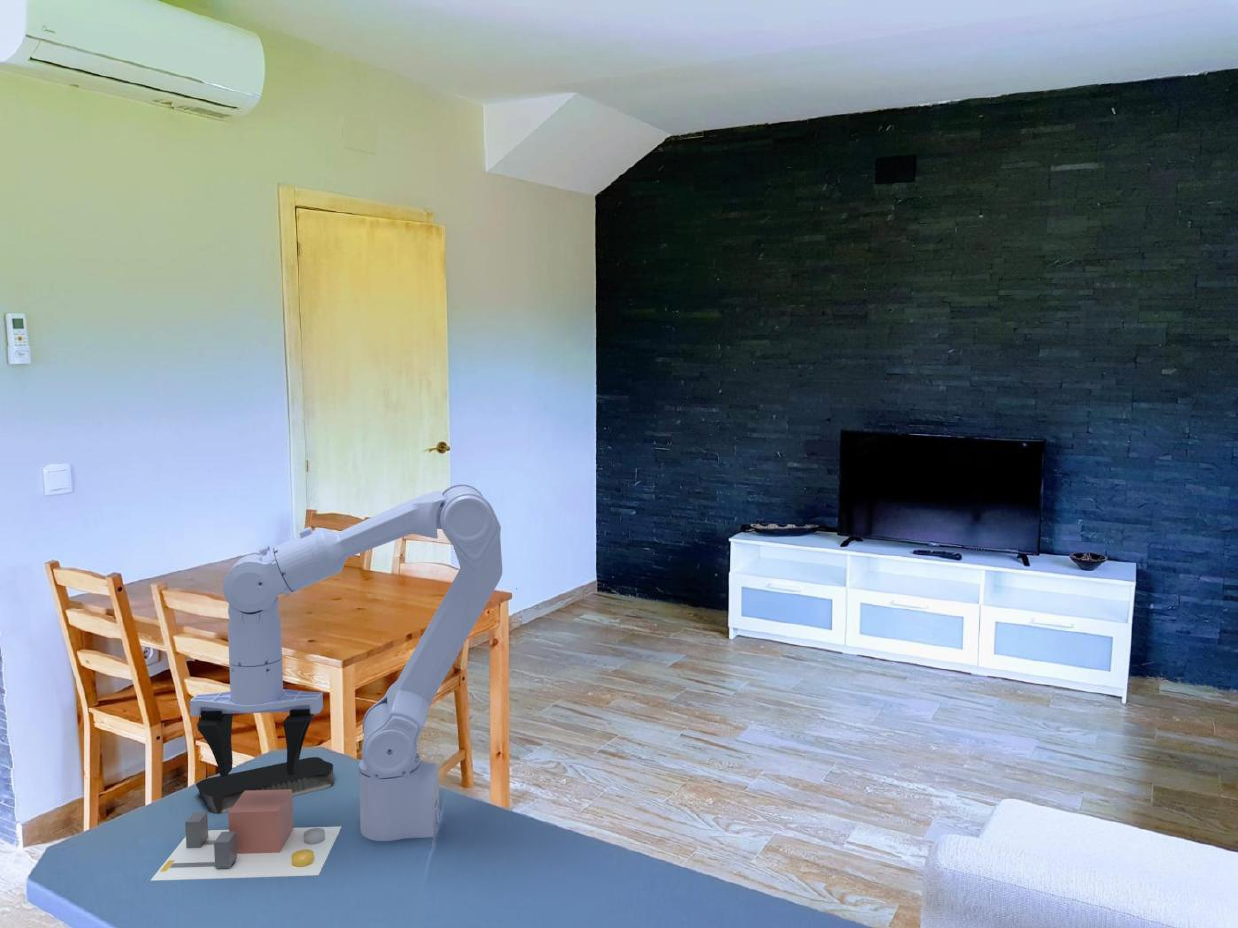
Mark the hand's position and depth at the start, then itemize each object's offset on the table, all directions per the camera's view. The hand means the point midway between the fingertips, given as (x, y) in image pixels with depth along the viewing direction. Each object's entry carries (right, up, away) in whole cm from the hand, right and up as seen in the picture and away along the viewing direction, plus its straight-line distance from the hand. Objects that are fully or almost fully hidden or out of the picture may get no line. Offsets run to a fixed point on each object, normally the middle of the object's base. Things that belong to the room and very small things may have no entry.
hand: (259, 772), depth 108 cm
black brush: (-5, -9, +15) cm, 18 cm away
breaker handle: (-2, -9, -4) cm, 10 cm away
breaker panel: (0, -10, -2) cm, 10 cm away
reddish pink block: (0, -8, +1) cm, 9 cm away
